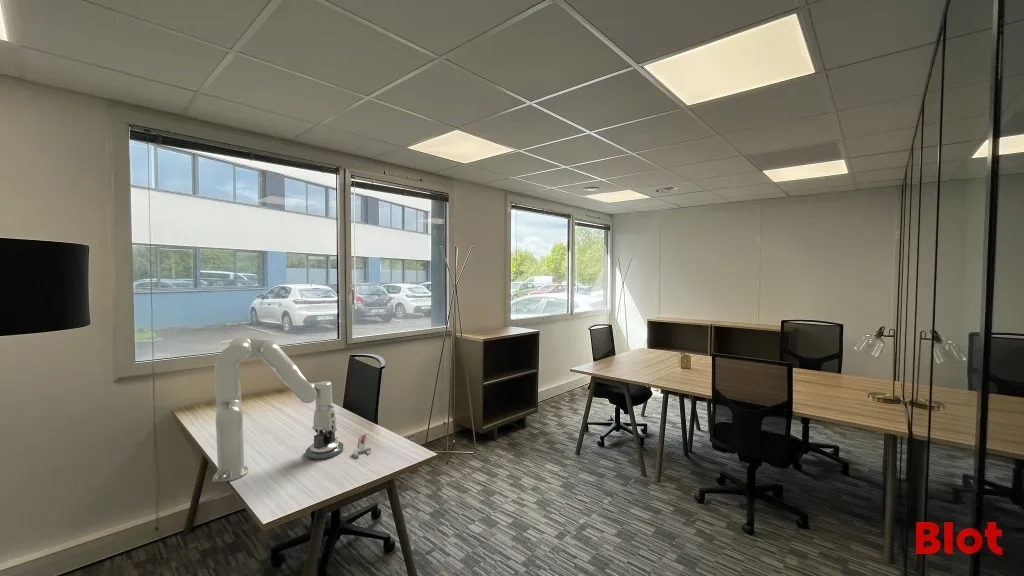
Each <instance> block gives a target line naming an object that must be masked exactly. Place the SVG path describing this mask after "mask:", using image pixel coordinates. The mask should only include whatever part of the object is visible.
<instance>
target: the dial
mask: <svg viewBox="0 0 1024 576" xmlns="http://www.w3.org/2000/svg"><path fill="white" fill-rule="evenodd" d="M338 439H339V437H337V436H336V431H335V432H334V433H333V434H332V435H331V443H329V444H327V445H326V431H325V430H323V432H321V433H319V434H317V433H316V434H315V435H313V443H312V444H310V446H309V447H310V451H311V452H312V453H326V452H330V451H333V450H335V449H336V448H338V447H339V442H340V441H339V440H338Z"/></svg>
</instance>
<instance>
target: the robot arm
mask: <svg viewBox="0 0 1024 576" xmlns="http://www.w3.org/2000/svg"><path fill="white" fill-rule="evenodd" d="M248 357H253V358H260V359H261V360H262V361H263V362H264V363H265V364H266V365H267V366H268V367H269V368H270V370H271V371H272V372H273V373H274V374H275V375H276V376H277V377H278V379H280V381H282V382H283V384H284V385H286V386H287V388H289V390H290V391H291V392H292V393H293V394H294V395H295V396H296V398H298V400H300V401H301V402H302V403H303V404H311V403H313V402H315V409H314V412H313V426H312V430H313V431H315V433H316V435H317V434H319V433H321V432H324V431H326V445H327V444H329V443H331V435H332V434H333V433H334V432H335V433H336V432H337V431H338V429H337V417H336V412H335V408H334V407H335V406H334V405H333V385H332V382H331V381H328V380H325V381H324V380H322V381H318V382H309V381H308V380H307V379H306V377H304V375H303V373H301V371H300V369H299V368H298V366H297V365H296V364H295V363H294V361H293V360H292V359H291V358H290V357H289V356H288V355H287V354H286V353H285V351H284V350H283V349H282V348H281V347H280V346H279V345H278V343H277V342H276V341H274V340H269V339H260V338H259V339H258V338H250V337H236V338H234V339H232V341H230V342H229V344H228V346H227V347H226V348H224V349H223V350H222V351H221V352H220V353H219V354H218V356H217V357H216V360H215V363H214V385H215V386H214V395H215V406H216V412H215V433H216V437H215V438H216V454H217V456H216V457H217V458H216V459H217V470H216V473H215V474H214V475H213V477H212V479H211V481H212V482H217V483H224V482H225V483H226V482H231V481H234V480H237V479H239V478H242V477H243V476H245V475H247V474H248V472H249V467H248V466H247V465H245V453H244V452H245V450H244V425H243V423H244V421H243V420H244V414H243V413H244V412H243V402H242V387H241V381H240V373H239V372H240V371H239V370H240V368H239V365H240V363H241V362H242V361H244V360H245V359H247V358H248Z"/></svg>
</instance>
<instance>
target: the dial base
mask: <svg viewBox="0 0 1024 576" xmlns="http://www.w3.org/2000/svg"><path fill="white" fill-rule="evenodd" d="M343 451H344V443H343V442H341V441H339V447H338V448H336V449H335V450H333V451H330V452H326V453H312V452H311V451H310V446H308V447H307V448H306V449H305V457H306V458H307V460H310V461H324V460H325V461H326V460H328V459H332V458H335V457H337V456H339V455H340V454H342V453H343Z"/></svg>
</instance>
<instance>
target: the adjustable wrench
mask: <svg viewBox="0 0 1024 576" xmlns="http://www.w3.org/2000/svg"><path fill="white" fill-rule="evenodd" d="M367 437H368V436H367V434H366V433H365V434H361V435H360V437H359V443H358V448H356V449H355V450H353V451H352V457H353V456H354V458H355V457H358V458H357V459H359V458H360V455H361V454H360V453H362V454H367V455H370V454H371V452H372V447H370V446H369V447H367V446H366V443H365V442H366V441H367ZM365 446H366V447H365ZM364 452H366V453H364Z"/></svg>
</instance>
